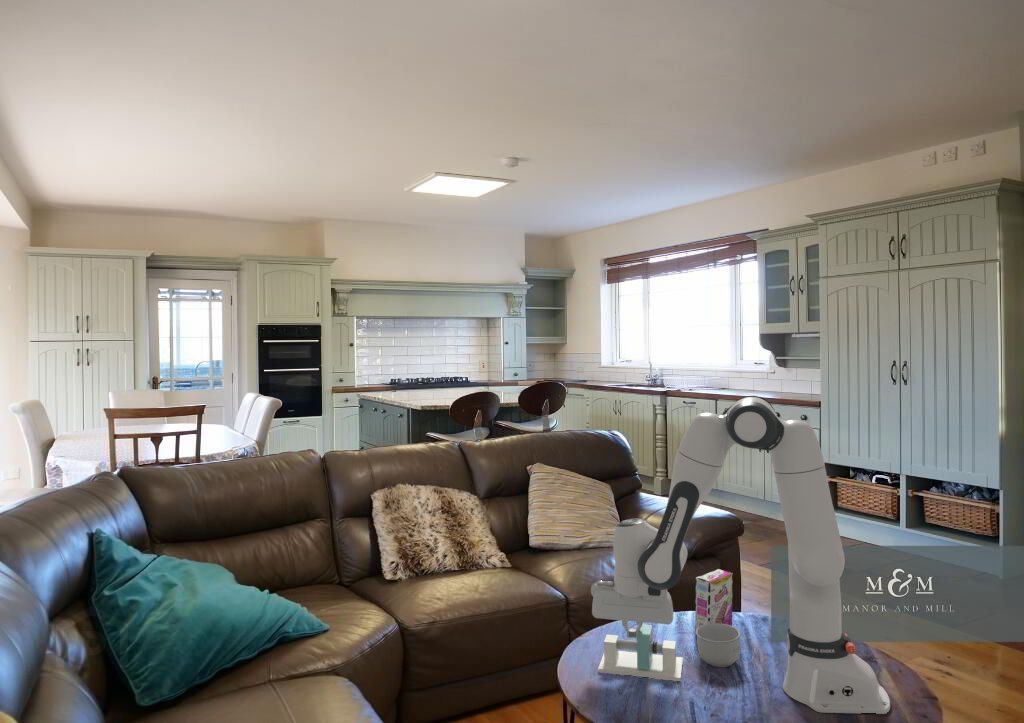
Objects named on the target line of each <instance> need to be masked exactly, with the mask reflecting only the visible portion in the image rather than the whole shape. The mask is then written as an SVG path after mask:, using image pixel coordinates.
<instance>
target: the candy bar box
mask: <svg viewBox="0 0 1024 723" xmlns="http://www.w3.org/2000/svg"><path fill="white" fill-rule="evenodd" d="M694 614H695V617H694V619H695V622H694V623H695V627H694V628H695V631H694V633H695V634H694V635H695V636H697V635H696V630H697V629H698V628H699V627H700V626H702V625H706V624H707V622H708V621H713V622H714V623H720V624H727V625H730V626H733V572H731V571H727V570H722V569H719V568H717V569H715V570H712V571H710V572H708V573H705V574H701V575H699V576H696V577H695V613H694Z"/></svg>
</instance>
